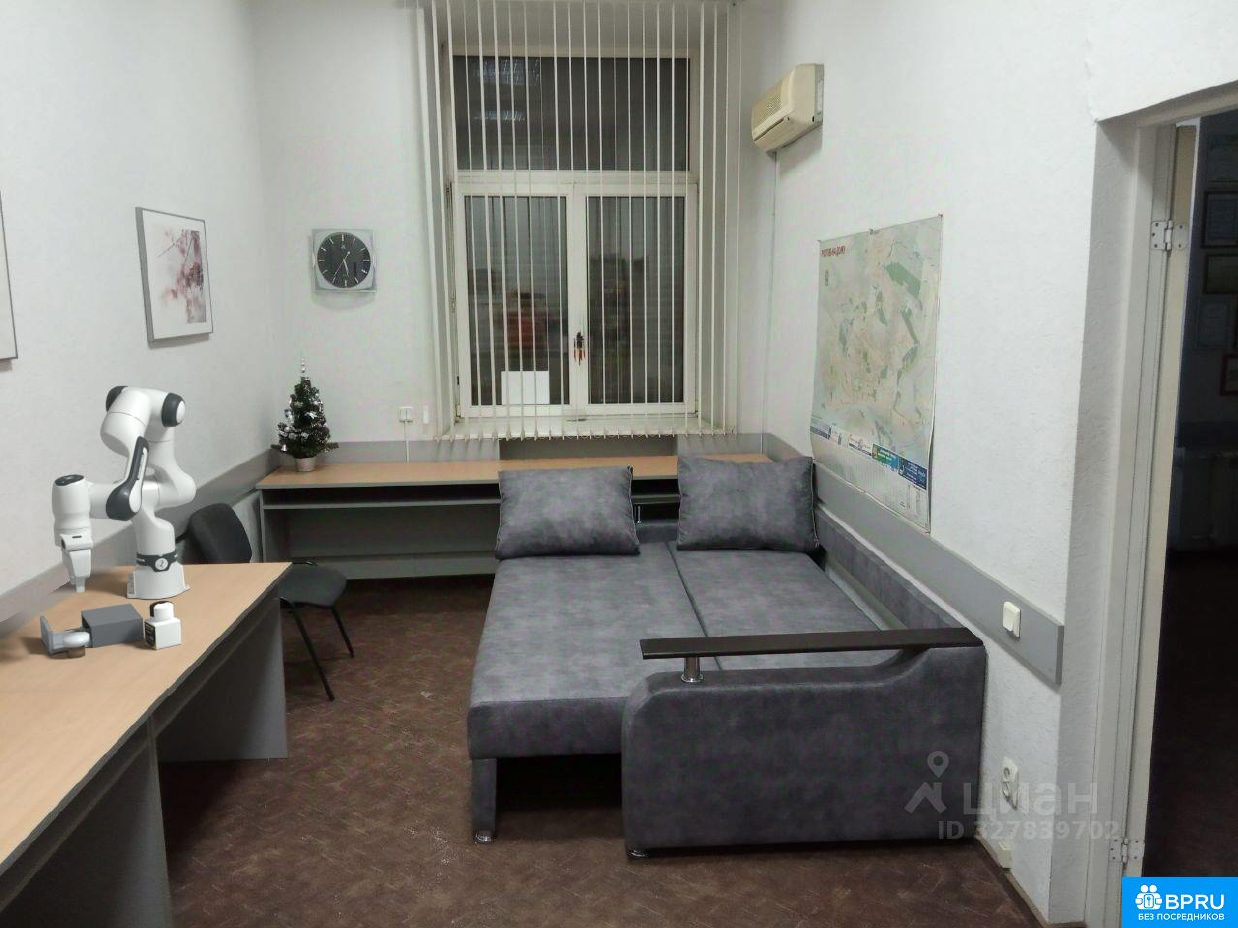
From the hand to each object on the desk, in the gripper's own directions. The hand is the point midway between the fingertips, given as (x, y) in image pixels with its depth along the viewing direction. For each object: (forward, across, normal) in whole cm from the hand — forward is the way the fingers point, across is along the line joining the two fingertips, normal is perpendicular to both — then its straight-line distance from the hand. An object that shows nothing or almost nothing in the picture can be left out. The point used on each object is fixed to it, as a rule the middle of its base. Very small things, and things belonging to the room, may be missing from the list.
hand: (77, 587), depth 265 cm
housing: (+18, -13, +10) cm, 24 cm away
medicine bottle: (+19, +2, +20) cm, 28 cm away
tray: (+18, -13, 0) cm, 22 cm away
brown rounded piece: (+19, -1, -1) cm, 19 cm away
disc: (+15, -1, -1) cm, 15 cm away
